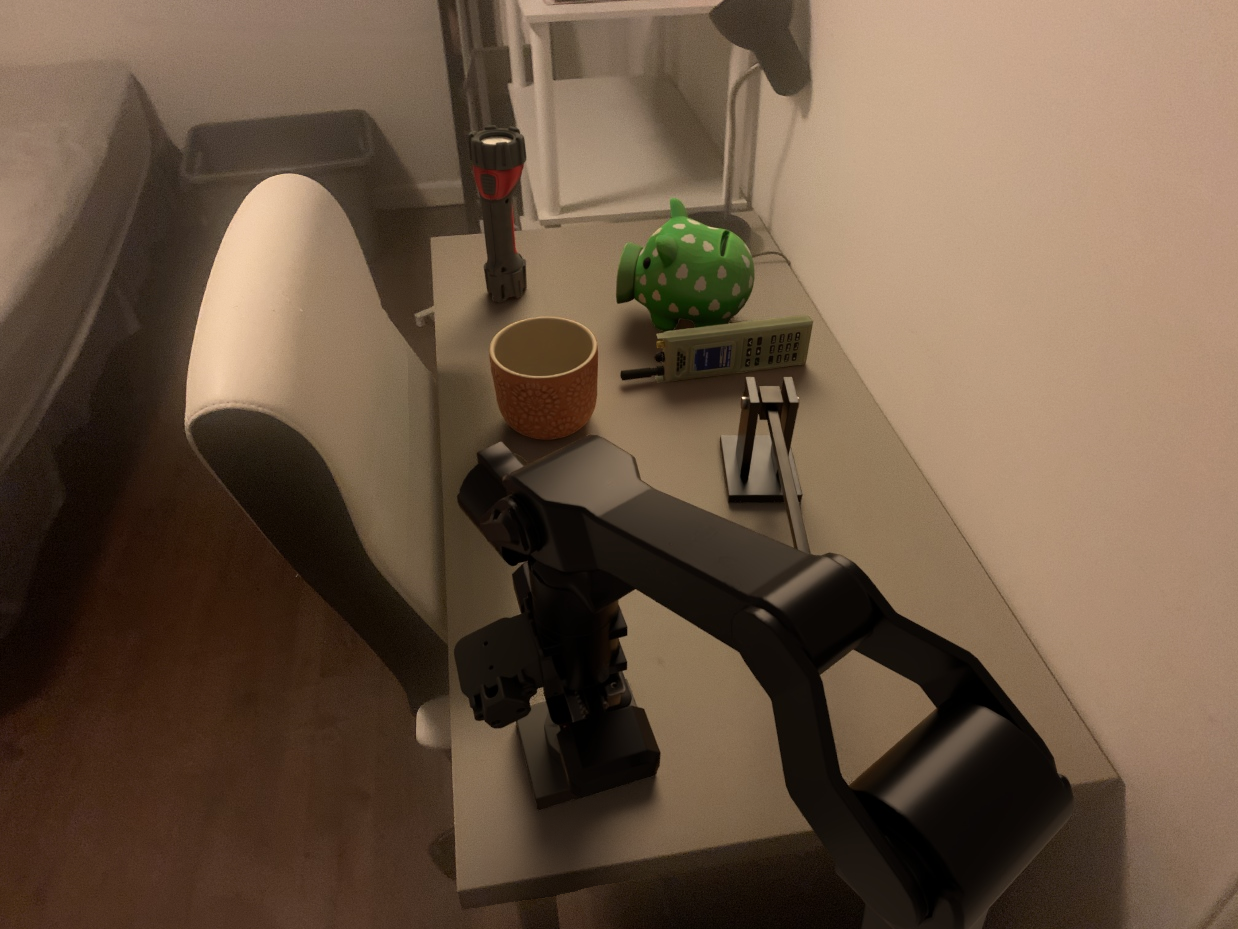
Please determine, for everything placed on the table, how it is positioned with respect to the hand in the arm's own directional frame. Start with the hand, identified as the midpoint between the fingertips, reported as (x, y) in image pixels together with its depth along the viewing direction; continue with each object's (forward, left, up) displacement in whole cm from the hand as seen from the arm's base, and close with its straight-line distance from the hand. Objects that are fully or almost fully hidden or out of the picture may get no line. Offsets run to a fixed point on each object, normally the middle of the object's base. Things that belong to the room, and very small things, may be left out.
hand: (583, 720), depth 64 cm
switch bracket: (+26, -28, -5) cm, 39 cm away
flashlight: (+75, -9, -5) cm, 75 cm away
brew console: (0, 0, -5) cm, 5 cm away
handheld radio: (+46, -30, -5) cm, 55 cm away
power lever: (+15, -25, +4) cm, 29 cm away
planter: (+43, -7, -5) cm, 43 cm away
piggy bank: (+59, -31, -5) cm, 67 cm away
